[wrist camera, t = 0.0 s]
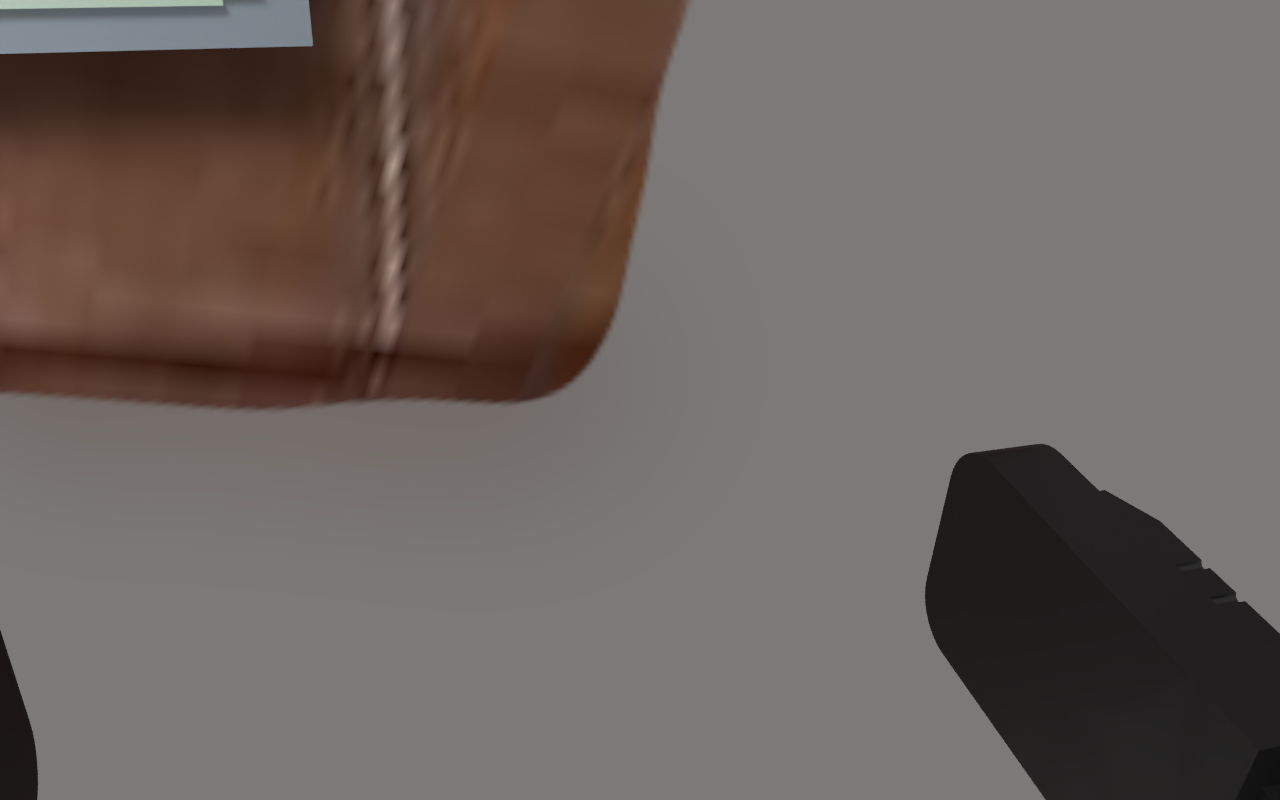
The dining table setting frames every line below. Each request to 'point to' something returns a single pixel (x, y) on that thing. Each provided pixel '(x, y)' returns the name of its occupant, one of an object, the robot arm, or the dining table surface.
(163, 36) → the socket block
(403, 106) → the dining table surface
